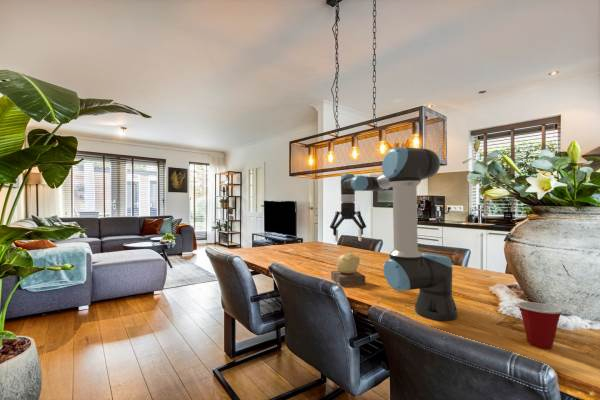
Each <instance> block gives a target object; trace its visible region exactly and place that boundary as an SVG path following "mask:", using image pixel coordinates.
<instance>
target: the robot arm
mask: <svg viewBox="0 0 600 400" xmlns="http://www.w3.org/2000/svg"><path fill="white" fill-rule="evenodd" d="M440 167H441V159H440V158H439V156H438V154H437V153H436V152H435V151H433V150H431V149H428V148H416V147H406V146H402V147H396V146H395V147H393V148H391V149H389V150H388V151H387V152H386V154H385V155H384V157H383V160H382V164H381V170H382V174H380V175H378V176H368V175H367V176H365V175H356V176H355V174H353V173H343V174H341V176H340V201H341V203H340V211H338V210H337V211H335V212H334V214H335V215H334V217H333V218H332V221H331V223H330V225H329V228H330V229H331V230H333V231H332V234H333V236H334V241H335V242H336V243H339V230H338V227H339V226H340V225H341V224H342V222H344V221H345V220H352V221H353V222H354V223H355V224H356V226H357V227H358V229H357V233H358V234H357V237H358V238H357V239H358V241H359V242H362V241H363V240H362V235H364V229H366V228H367V225H366V223H365V221H364V219H363V216H362V214H361V213H362V212H361V211H360V210H357V211H356V204H355V202H356V197H355V196H356V194H355V192H357V191H358V192H364V191H365V192H366V191H367V192H373V191H374V192H386V191H389V190H390V188H392V207H393V208H392V211H393V212H392V215H393V216H392V219H393V221H392V222H393V225H392V226H393V230H392V231H393V249H392V250H391V251H390V252H389V258H388V259H386V260H385V262H384V263H383V266H382V267H383V275H384V278H385V280H386V282H387V284H388V285H389V287H391V288H392V289H393V290H395V291H399V292H400V291H402V292H403V291H404V292H407V291H411V290H412V291H414V290H419V291H418V294H417V298H416V300H415V303H414V312H415V313H416V314H418V315H420V316H422V317H424V318H428V319H429V320H435V321H452V320H456V319H457V318H458V308H457V306H456V305H457V304H456V303H455V300H454V296H453V264H452V263H453V261H452V259H451V257H449V256H447V255H446V256H445V255H442V254H437V253H431V252H420V251H419V248H418V247H419V245H418V244H419V243H418V199H417V197H418V195H417V194H418V193H417V192H418V191H417V189H418V186H419V185H420V184H421V183H422V181H423V180H426V179H429V178H433V177H434V176H435V175H436V174H438V171H439V170H440ZM340 215H341V217H340ZM356 216H357V217H356ZM339 217H340V218H339ZM338 218H339V219H338ZM357 218H358V219H357ZM337 220H338V221H337Z"/></svg>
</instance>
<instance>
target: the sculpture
mask: <svg viewBox="0 0 600 400" xmlns="http://www.w3.org/2000/svg"><path fill="white" fill-rule="evenodd" d="M360 260H361V259H360V257H359V256H357V255H356V254H353V253H350V252H347V253H343V254H341V255H340V256H338V258H337V260H336V269H337V271H340V272H342V273H346V274H352V273H355V272H356V271H357V270H358V268H359V266H360ZM357 272H358V271H357Z"/></svg>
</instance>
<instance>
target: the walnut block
mask: <svg viewBox="0 0 600 400" xmlns="http://www.w3.org/2000/svg"><path fill="white" fill-rule="evenodd" d="M330 276H331V277H330V278H331V280H332V281H333V282H334V283H336V284H337V283H339V284H340V285H341V286H340V287H350V286H362V285H363V286H364V285H366V275H364V274H362V273H360V272H359V271H356V272H355V273H352V274H346V273H342V272H340V271H339V270H332V271H331V275H330Z"/></svg>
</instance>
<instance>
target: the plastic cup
mask: <svg viewBox="0 0 600 400" xmlns="http://www.w3.org/2000/svg"><path fill="white" fill-rule="evenodd" d="M516 306H518V308H519V311H520V315H521V318H522V323H523V326H524V327H523V328H524V331H525V336H526V340H527V343H528V344H529V345H531V347H536V348H538V349H542V350H551V349H552V348H553V345H554V342H555V338H556V334H557V328H558V323H559V321H560V317H561V314H562V313H563V309H562V308H560V307H557V306H554V305H552V304H548V303H540V302H533V301H531V302H530V301H519V302H516Z"/></svg>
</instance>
